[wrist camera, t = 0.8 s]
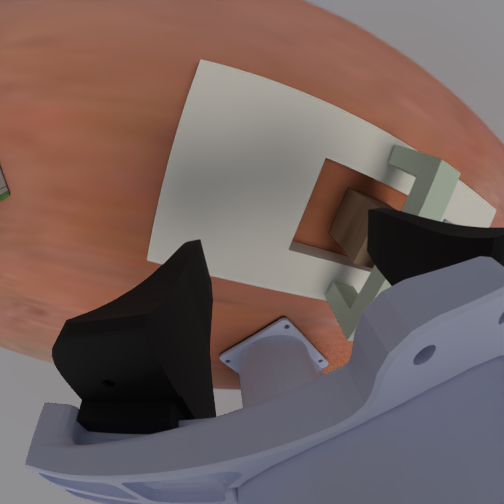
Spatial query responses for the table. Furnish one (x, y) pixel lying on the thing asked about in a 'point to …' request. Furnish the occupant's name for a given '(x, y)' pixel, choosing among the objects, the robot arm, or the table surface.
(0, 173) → the syrup box
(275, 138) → the puzzle board
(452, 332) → the robot arm
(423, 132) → the table surface
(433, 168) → the sliding bridge
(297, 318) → the table surface
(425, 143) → the table surface
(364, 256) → the walnut block
